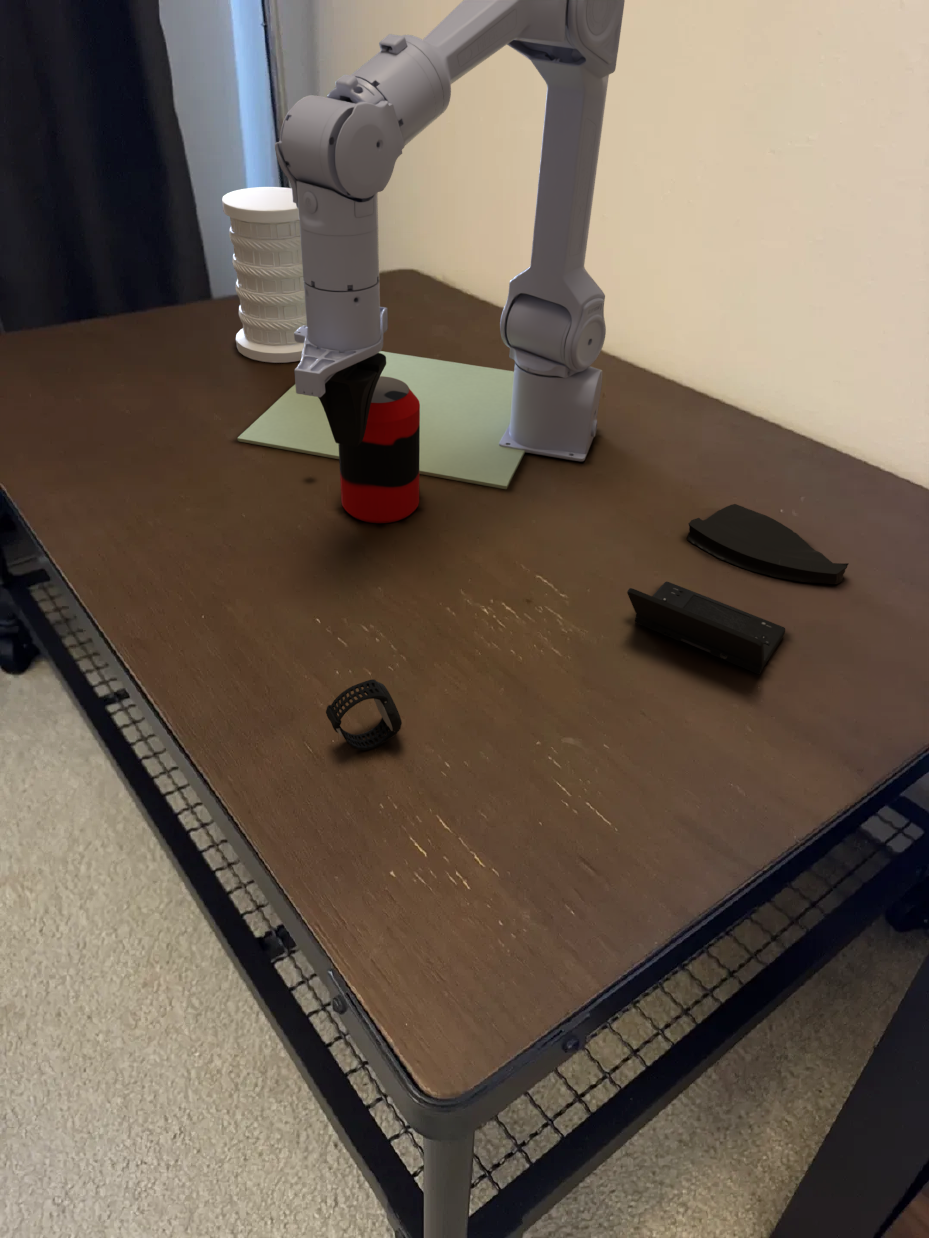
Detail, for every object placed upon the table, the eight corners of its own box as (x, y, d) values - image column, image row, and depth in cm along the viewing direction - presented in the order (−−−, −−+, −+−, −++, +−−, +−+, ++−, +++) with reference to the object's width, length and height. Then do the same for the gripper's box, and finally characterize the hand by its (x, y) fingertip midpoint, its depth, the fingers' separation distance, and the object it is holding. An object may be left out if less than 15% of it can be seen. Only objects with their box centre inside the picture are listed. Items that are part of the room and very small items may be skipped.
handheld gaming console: (791, 605, 75) (789, 562, 66) (773, 687, 74) (768, 654, 65) (655, 582, 80) (636, 539, 71) (635, 659, 78) (614, 625, 70)
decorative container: (320, 364, 114) (310, 214, 103) (228, 361, 114) (208, 209, 103) (331, 330, 123) (323, 188, 112) (246, 326, 123) (230, 184, 112)
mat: (561, 381, 113) (561, 378, 113) (506, 489, 92) (506, 486, 92) (337, 347, 119) (337, 344, 119) (237, 441, 98) (237, 437, 98)
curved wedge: (806, 607, 78) (811, 592, 77) (681, 538, 86) (684, 524, 85) (856, 572, 83) (861, 557, 82) (733, 509, 90) (736, 495, 89)
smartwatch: (402, 759, 63) (402, 707, 60) (327, 761, 62) (323, 709, 59) (400, 717, 66) (400, 665, 63) (329, 719, 65) (325, 667, 62)
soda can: (388, 533, 85) (386, 415, 77) (325, 508, 88) (317, 392, 80) (434, 499, 90) (436, 386, 82) (373, 477, 93) (369, 365, 85)
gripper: (330, 246, 75) (338, 399, 83) (249, 303, 64) (268, 473, 72) (410, 257, 73) (410, 411, 82) (342, 317, 63) (350, 488, 71)
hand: (349, 441), depth 77 cm, fingers closed
